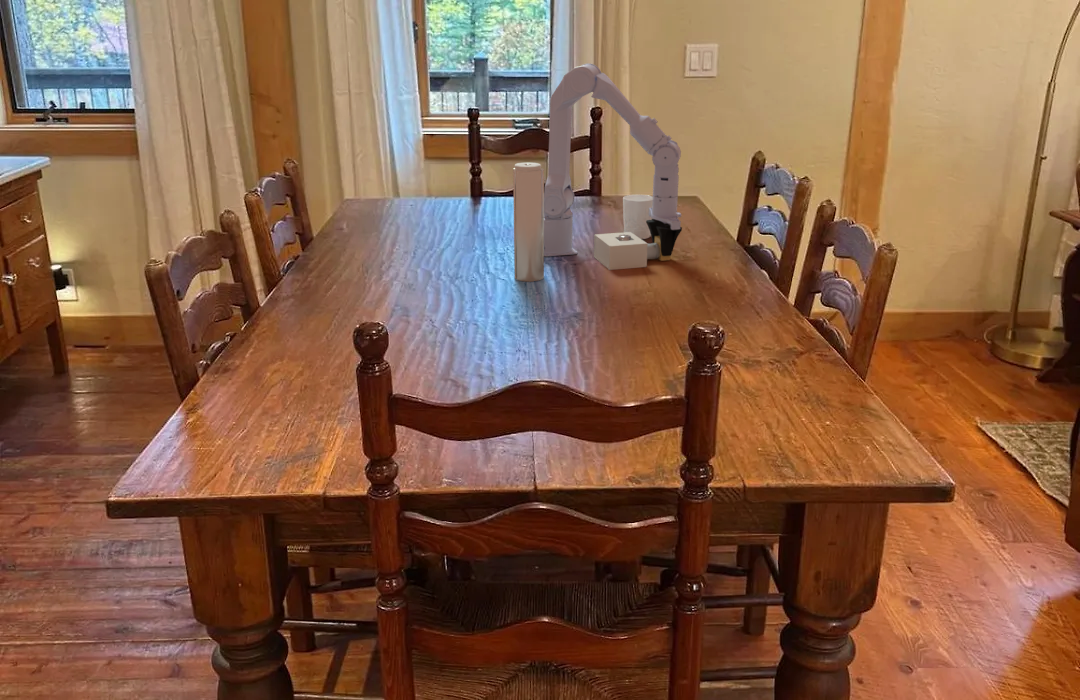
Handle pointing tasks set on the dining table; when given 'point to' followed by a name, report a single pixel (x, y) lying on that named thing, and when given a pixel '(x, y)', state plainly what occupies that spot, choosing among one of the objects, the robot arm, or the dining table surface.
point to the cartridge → (656, 250)
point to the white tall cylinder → (528, 221)
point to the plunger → (624, 237)
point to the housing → (620, 251)
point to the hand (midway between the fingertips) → (662, 252)
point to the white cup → (637, 214)
